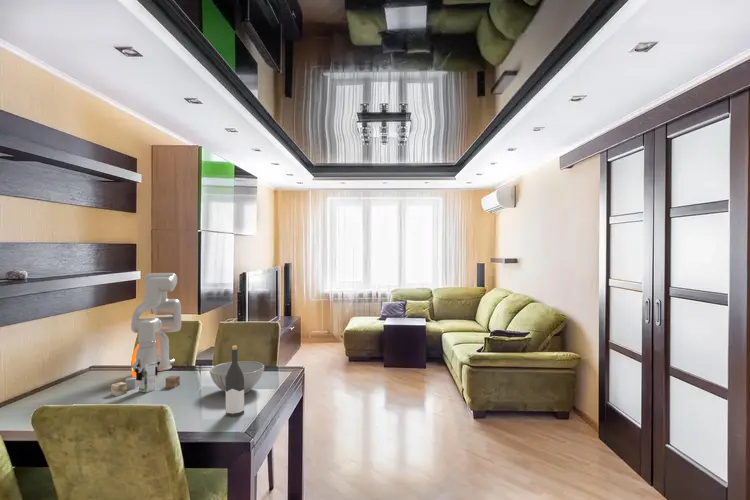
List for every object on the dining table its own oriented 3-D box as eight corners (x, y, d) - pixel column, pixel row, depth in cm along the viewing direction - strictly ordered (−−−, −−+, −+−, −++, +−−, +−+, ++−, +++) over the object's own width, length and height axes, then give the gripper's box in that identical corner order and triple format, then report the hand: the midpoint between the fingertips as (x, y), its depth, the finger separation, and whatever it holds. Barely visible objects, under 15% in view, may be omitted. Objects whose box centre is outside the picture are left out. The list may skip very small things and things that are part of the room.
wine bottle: (246, 410, 202) (246, 343, 202) (241, 416, 194) (241, 347, 194) (228, 410, 202) (228, 344, 202) (223, 417, 194) (222, 348, 194)
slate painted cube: (128, 386, 238) (128, 376, 238) (138, 385, 239) (138, 376, 239) (124, 389, 233) (124, 379, 233) (135, 388, 234) (135, 379, 234)
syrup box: (138, 391, 230) (138, 363, 230) (148, 387, 235) (148, 360, 235) (145, 392, 227) (145, 364, 227) (156, 389, 232) (155, 361, 232)
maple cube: (121, 391, 229) (121, 382, 229) (126, 393, 227) (126, 383, 227) (111, 394, 225) (111, 384, 225) (116, 396, 222) (116, 386, 222)
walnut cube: (170, 384, 241) (170, 375, 241) (179, 385, 240) (179, 375, 240) (165, 387, 236) (165, 378, 236) (174, 387, 235) (174, 378, 235)
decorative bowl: (207, 402, 212) (207, 377, 212) (212, 385, 238) (211, 363, 238) (265, 397, 220) (265, 372, 220) (263, 381, 245) (263, 359, 245)
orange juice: (144, 382, 244) (143, 346, 244) (131, 381, 247) (131, 345, 247) (155, 378, 252) (155, 343, 251) (143, 377, 254) (143, 342, 254)
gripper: (155, 341, 240) (155, 372, 240) (126, 347, 224) (127, 381, 224) (165, 341, 238) (165, 374, 237) (137, 348, 221) (138, 383, 221)
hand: (147, 377), depth 231 cm, fingers open, 9 cm apart
